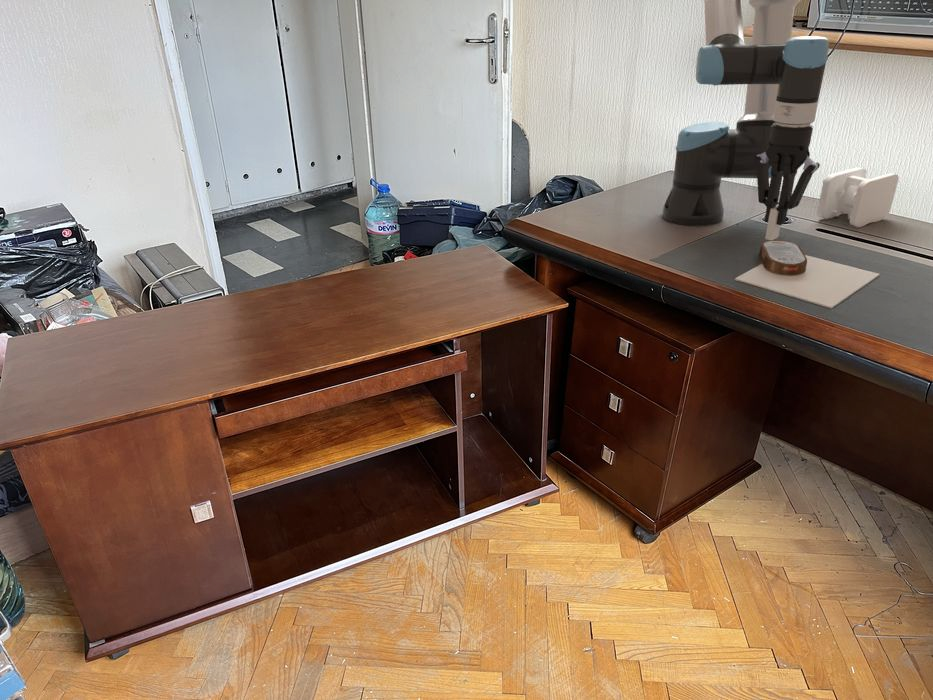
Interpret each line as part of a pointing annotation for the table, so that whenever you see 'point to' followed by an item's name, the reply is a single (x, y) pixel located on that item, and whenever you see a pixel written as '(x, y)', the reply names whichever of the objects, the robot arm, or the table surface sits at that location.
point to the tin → (783, 257)
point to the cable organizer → (857, 196)
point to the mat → (813, 281)
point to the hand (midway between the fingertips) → (771, 237)
